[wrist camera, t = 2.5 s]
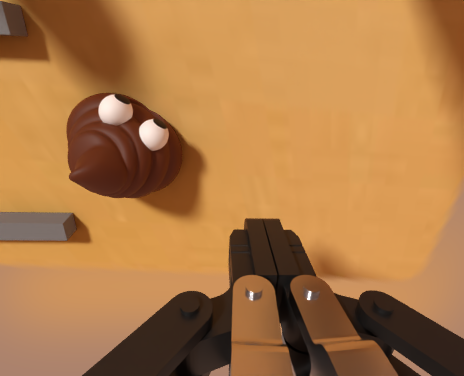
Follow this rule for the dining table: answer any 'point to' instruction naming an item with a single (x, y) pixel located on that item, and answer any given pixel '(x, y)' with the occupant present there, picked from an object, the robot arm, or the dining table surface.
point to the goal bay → (23, 223)
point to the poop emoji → (121, 147)
